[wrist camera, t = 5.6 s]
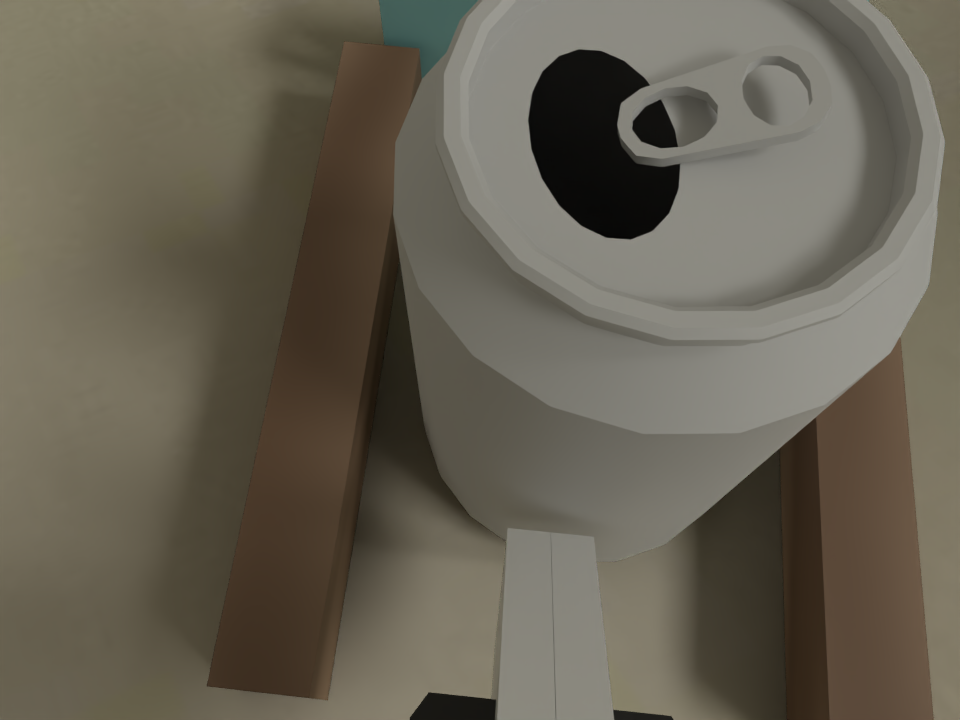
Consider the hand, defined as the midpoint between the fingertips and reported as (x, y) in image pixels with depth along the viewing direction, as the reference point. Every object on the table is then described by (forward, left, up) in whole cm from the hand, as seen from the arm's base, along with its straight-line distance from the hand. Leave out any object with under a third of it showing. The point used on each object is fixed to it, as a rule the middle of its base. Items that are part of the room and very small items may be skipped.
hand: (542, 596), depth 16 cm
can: (-1, -5, -5) cm, 7 cm away
